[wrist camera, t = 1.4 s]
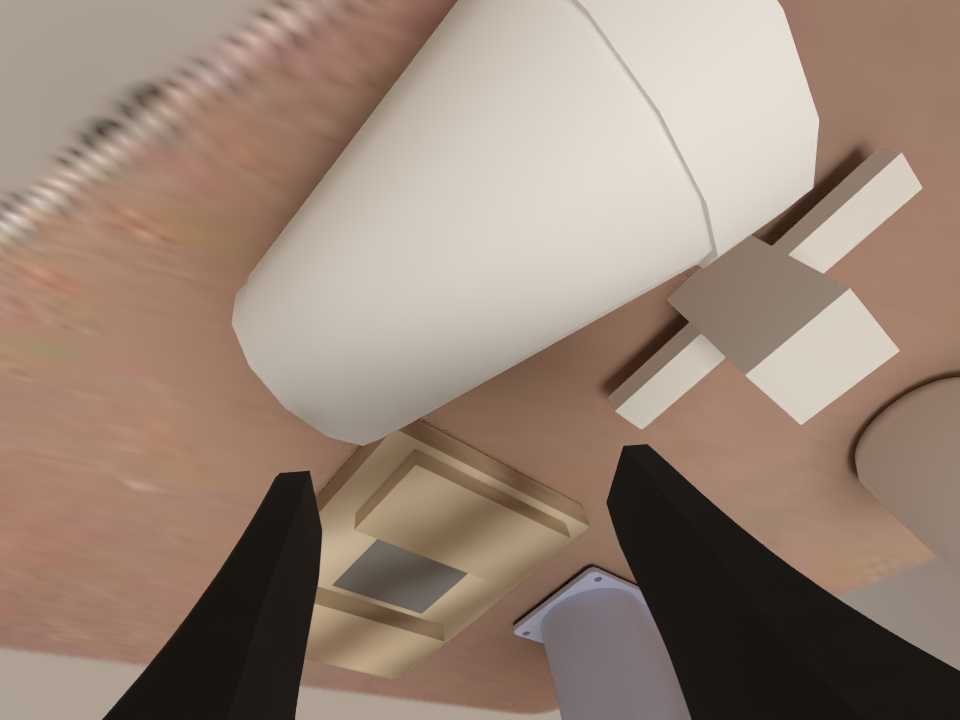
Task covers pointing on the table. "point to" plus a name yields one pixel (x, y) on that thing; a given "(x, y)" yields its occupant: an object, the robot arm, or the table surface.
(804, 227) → the cube skewered by beam
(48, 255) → the table surface
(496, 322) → the foam cup
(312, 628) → the display stand
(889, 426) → the alcohol
